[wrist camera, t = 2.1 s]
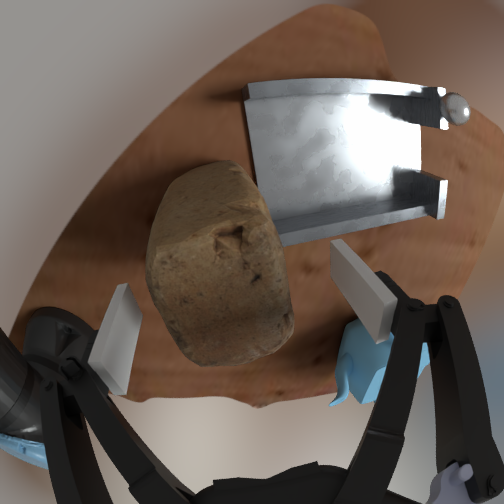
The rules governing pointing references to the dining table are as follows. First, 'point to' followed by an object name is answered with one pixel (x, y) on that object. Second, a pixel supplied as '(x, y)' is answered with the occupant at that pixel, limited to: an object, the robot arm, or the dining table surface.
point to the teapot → (364, 364)
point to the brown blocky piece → (219, 268)
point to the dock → (345, 152)
